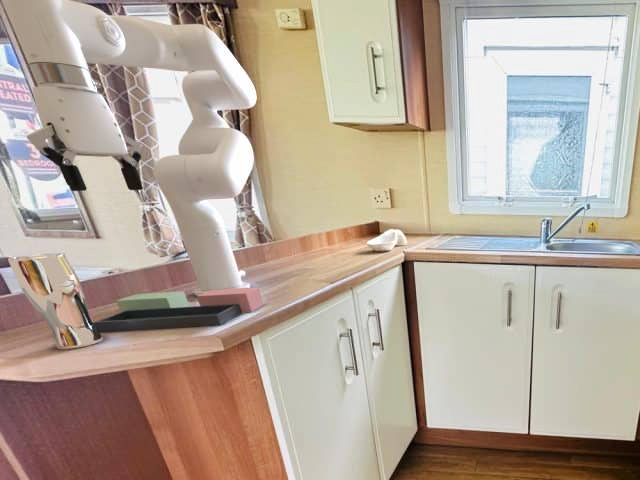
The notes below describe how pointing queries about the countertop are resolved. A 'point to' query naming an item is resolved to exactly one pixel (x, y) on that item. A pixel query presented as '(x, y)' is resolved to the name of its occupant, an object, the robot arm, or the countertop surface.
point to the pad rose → (233, 298)
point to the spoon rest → (387, 240)
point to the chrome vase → (56, 298)
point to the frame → (168, 318)
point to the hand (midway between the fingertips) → (109, 190)
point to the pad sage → (153, 301)
